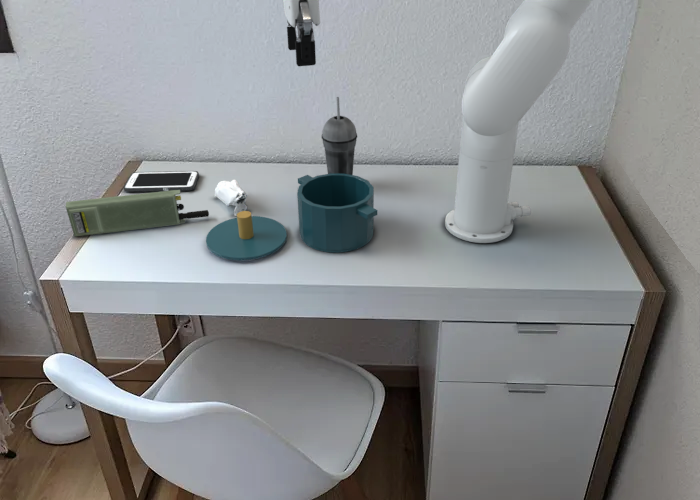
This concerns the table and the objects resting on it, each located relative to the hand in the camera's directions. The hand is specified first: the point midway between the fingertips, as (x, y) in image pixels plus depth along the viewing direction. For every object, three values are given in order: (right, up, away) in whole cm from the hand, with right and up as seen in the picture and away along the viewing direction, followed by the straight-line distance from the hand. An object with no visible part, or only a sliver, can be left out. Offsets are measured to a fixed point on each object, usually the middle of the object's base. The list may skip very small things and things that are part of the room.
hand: (301, 56), depth 114 cm
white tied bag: (-16, -24, +19) cm, 35 cm away
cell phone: (-32, -19, +27) cm, 46 cm away
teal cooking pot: (+6, -30, +9) cm, 32 cm away
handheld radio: (-31, -29, +12) cm, 44 cm away
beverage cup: (+6, -20, +24) cm, 33 cm away
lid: (-11, -31, +6) cm, 34 cm away
